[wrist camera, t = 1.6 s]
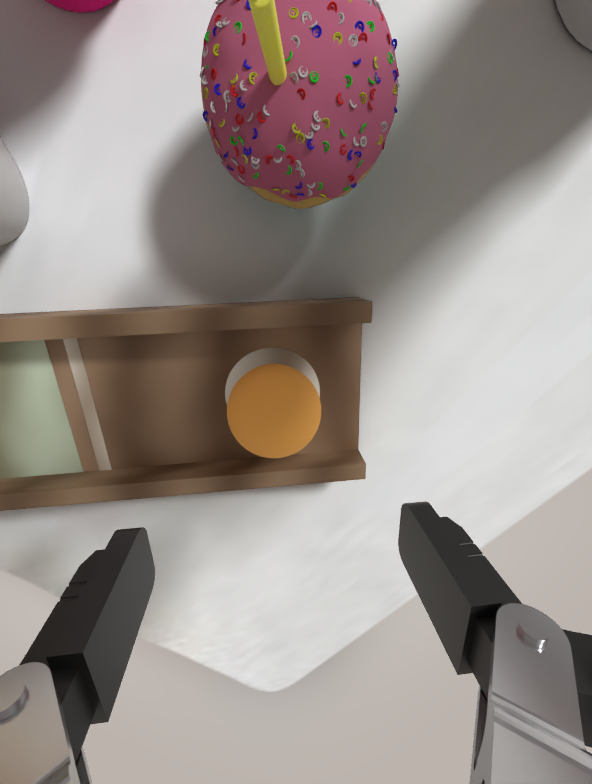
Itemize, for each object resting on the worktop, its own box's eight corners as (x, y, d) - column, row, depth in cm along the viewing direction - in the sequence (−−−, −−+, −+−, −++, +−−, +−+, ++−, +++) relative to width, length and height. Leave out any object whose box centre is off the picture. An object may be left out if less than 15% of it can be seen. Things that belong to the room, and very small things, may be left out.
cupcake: (246, 238, 21) (226, 202, 9) (188, 66, 18) (55, -295, 6) (381, 191, 20) (528, 98, 9) (346, 9, 17) (501, -466, 6)
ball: (313, 351, 22) (329, 377, 17) (314, 428, 24) (329, 473, 19) (226, 356, 22) (215, 384, 17) (235, 434, 24) (227, 481, 18)
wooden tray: (358, 297, 22) (383, 305, 18) (354, 456, 26) (374, 496, 22) (-139, 320, 20) (-261, 336, 15) (-59, 490, 24) (-135, 543, 20)
